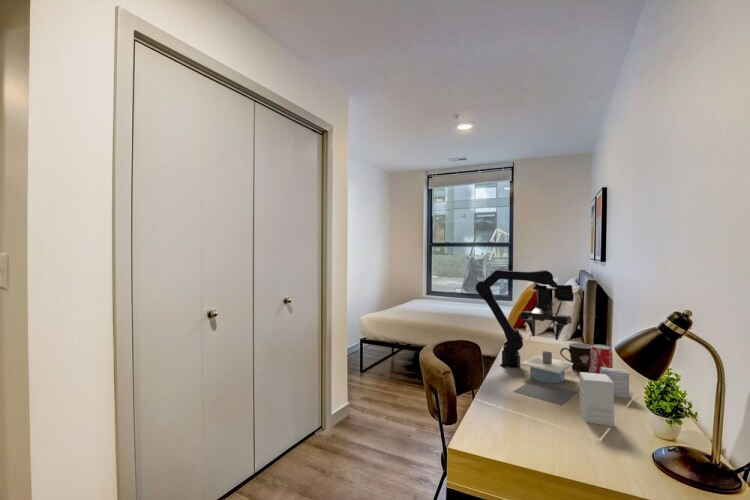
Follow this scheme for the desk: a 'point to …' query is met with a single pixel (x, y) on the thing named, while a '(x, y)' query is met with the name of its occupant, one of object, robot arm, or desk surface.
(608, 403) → the supplement box
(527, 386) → the mat
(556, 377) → the bowl
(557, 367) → the lid
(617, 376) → the medicine box
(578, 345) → the coffee mug
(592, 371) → the soda can
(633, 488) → the desk surface
